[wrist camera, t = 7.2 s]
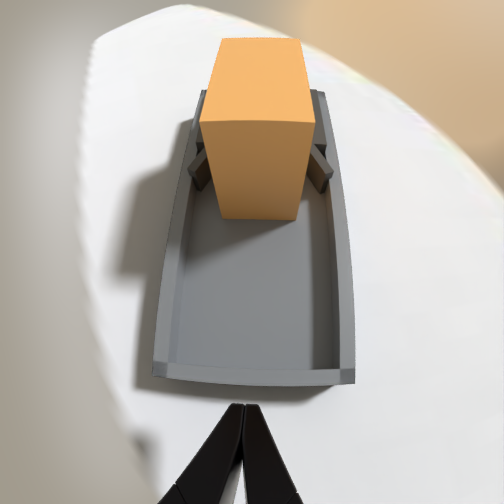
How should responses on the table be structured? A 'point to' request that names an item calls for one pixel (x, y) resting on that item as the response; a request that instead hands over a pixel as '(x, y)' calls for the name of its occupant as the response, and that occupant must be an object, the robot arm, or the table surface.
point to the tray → (258, 280)
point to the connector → (258, 127)
